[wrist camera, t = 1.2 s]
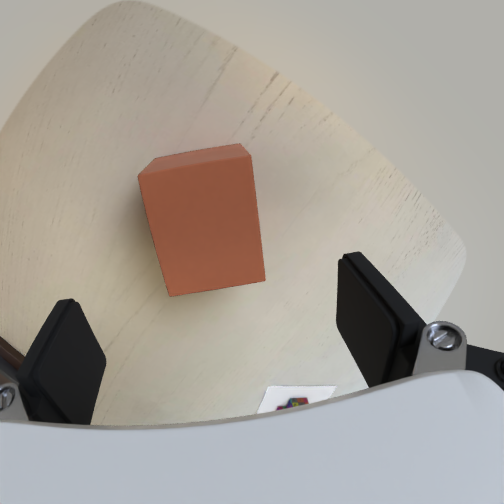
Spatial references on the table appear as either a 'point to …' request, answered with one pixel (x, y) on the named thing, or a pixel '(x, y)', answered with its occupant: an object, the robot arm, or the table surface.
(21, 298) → the table surface
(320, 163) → the table surface
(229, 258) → the orange brown block
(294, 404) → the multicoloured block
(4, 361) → the dark brown shallow tray
